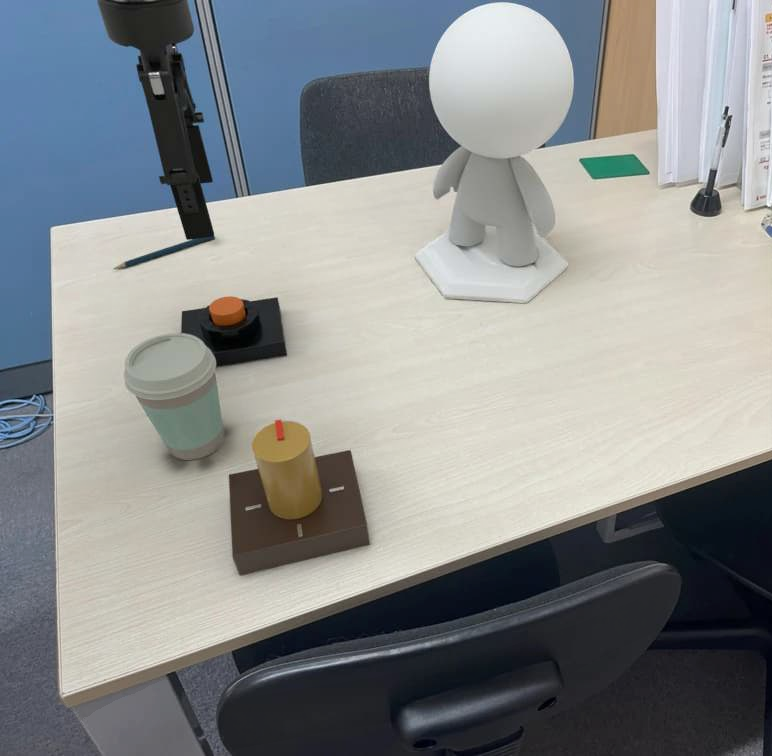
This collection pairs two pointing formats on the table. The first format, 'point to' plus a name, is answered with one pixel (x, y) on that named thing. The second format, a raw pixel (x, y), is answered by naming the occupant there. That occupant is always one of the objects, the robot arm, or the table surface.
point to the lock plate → (296, 536)
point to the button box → (240, 333)
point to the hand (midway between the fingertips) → (200, 208)
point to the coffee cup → (178, 392)
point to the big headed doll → (497, 152)
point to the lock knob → (288, 469)
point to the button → (227, 311)
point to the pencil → (163, 252)
